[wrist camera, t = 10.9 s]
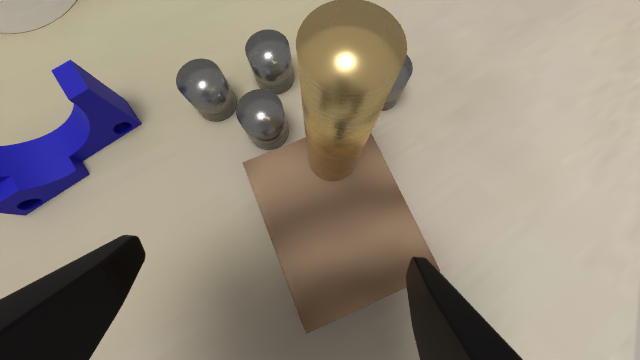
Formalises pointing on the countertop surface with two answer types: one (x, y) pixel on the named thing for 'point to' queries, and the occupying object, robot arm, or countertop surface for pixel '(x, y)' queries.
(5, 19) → the cylinder
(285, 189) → the brown wooden board
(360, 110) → the cylinder
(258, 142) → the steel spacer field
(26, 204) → the cable clip
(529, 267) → the countertop surface
